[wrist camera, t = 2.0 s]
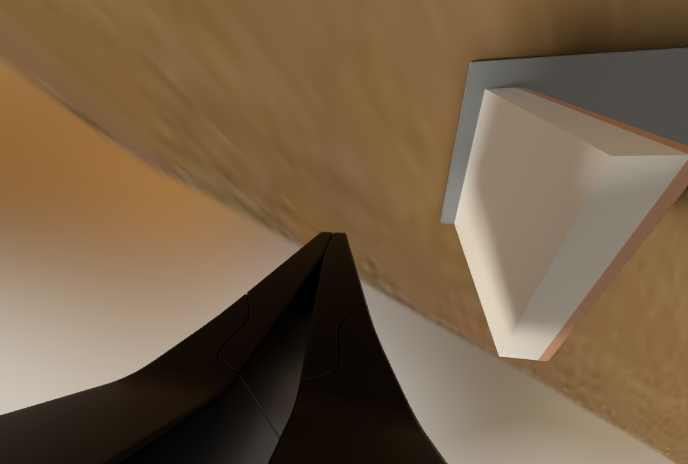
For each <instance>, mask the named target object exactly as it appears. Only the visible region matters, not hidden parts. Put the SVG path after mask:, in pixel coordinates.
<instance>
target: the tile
mask: <svg viewBox="0 0 688 464" xmlns="http://www.w3.org/2000/svg"><path fill="white" fill-rule="evenodd" d="M687 186H688V146H686V145H683V144H680V143H677V142H675V141H672V140H669V139H666V138H663V137H661V136H658V135H655V134H652V133H650V132H647V131H644V130H641V129H638V128H636V127H633V126H630V125H627V124H625V123H622V122H619V121H616V120H614V119H611V118H608V117H605V116H602V115H600V114H597V113H594V112H591V111H589V110H586V109H583V108H580V107H577V106H575V105H572V104H569V103H566V102H564V101H561V100H558V99H555V98H552V97H550V96H547V95H544V94H541V93H539V92H536V91H533V90H530V89H527V88H525V87H515V88H495V89H485V91H484V96H483V100H482V104H481V109H480V113H479V118H478V122H477V126H476V131H475V135H474V140H473V144H472V148H471V153H470V157H469V162H468V166H467V170H466V175H465V179H464V183H463V188H462V192H461V197H460V201H459V205H458V210H457V214H456V219H455V223H454V224H455V227H456V230H457V233H458V236H459V239H460V242H461V245H462V248H463V251H464V254H465V257H466V260H467V262H468V265H469V268H470V271H471V274H472V277H473V280H474V283H475V286H476V289H477V292H478V295H479V298H480V301H481V304H482V307H483V310H484V313H485V316H486V319H487V322H488V325H489V328H490V331H491V333H492V336H493V339H494V342H495V345H496V348H497V351H498V354H499V356H502V357H512V358H522V359H531V360H541V361H548V360H549V359H550V358H551V357H552V355H553V354H554V353H555V352H556V350H557V349H558V348H559V347H560V345H561V344H562V343H563V342H564V340H565V339H566V338H567V337H568V335H569V334H570V333H571V332H572V330H573V329H574V328H575V327H576V325H577V324H578V323H579V322H580V320H581V319H582V318H583V317H584V315H585V314H586V313H587V312H588V310H589V309H590V308H591V307H592V305H593V304H594V303H595V302H596V300H597V299H598V298H599V297H600V295H601V294H602V293H603V291H604V290H605V289H606V288H607V286H608V285H609V284H610V283H611V281H612V280H613V279H614V278H615V276H616V275H617V274H618V273H619V271H620V270H621V269H622V268H623V266H624V265H625V264H626V263H627V261H628V260H629V259H630V258H631V256H632V255H633V254H634V253H635V251H636V250H637V249H638V248H639V246H640V245H641V244H642V243H643V241H644V240H645V239H646V238H647V236H648V235H649V234H650V233H651V231H652V230H653V229H654V228H655V226H656V225H657V224H658V223H659V221H660V220H661V219H662V217H663V216H664V215H665V214H666V212H667V211H668V210H669V209H670V207H671V206H672V205H673V204H674V202H675V201H676V200H677V199H678V197H679V196H680V195H681V194H682V192H683V191H684V190H685V189H686V187H687Z"/></svg>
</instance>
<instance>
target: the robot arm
mask: <svg viewBox="0 0 688 464" xmlns="http://www.w3.org/2000/svg"><path fill="white" fill-rule="evenodd" d="M0 464H447V462H446V461H445V460H444V458H443V457H442V455H441V454H440V453H439V451H438V450H437V448H436V447H435V446H434V444H433V443H432V441H431V440H430V439H429V437H428V436H427V435H426V433H425V432H424V430H423V428H422V427H421V425H420V423H419V422H418V420H417V418H416V416H415V415H414V413H413V411H412V409H411V407H410V405H409V403H408V401H407V399H406V397H405V395H404V393H403V391H402V389H401V387H400V384H399V382H398V380H397V378H396V376H395V374H394V372H393V369H392V367H391V365H390V363H389V361H388V359H387V356H386V354H385V352H384V350H383V348H382V346H381V343H380V341H379V338H378V336H377V334H376V331H375V328H374V326H373V322H372V319H371V316H370V313H369V310H368V306H367V304H366V300H365V297H364V293H363V290H362V286H361V283H360V280H359V276H358V273H357V269H356V266H355V263H354V259H353V256H352V252H351V249H350V246H349V242H348V239H347V235H346V233H334V234H333V233H332V232H321V233H319V234H318V235H317V236H316V237H314V238H313V239H312V240H311V241H310V242H308V243H307V244H306V245H305V246H303V247H302V248H301V249H300V250H299V251H297V252H296V253H295V254H294V255H292V256H291V257H290V258H289V259H288V260H287V261H285V262H284V263H283V264H281V265H280V266H279V267H278V268H277V269H275V270H274V271H273V272H272V273H271V274H269V275H268V276H267V277H266V278H264V279H263V280H262V281H261V282H259V283H258V284H257V285H256V286H255V287H253V288H252V289H251V290H250V291H248V292H247V295H246V294H245V295H243V296H242V297H241V298H240V299H239V300H238V301H236V302H235V303H234V304H232V305H231V306H230V307H228V308H227V309H226V310H225V311H223V312H222V313H221V314H220V315H218V316H217V317H215V318H214V319H213V320H211V321H210V322H208V323H207V324H206V325H204V326H203V327H202V328H200V329H199V330H198V331H196V332H194V333H193V334H192V335H190V336H189V337H187V338H186V339H184V340H183V341H181V342H180V343H179V344H177V345H176V346H174V347H173V348H171V349H170V350H168V351H167V352H166V353H164V354H163V355H161V356H160V357H158V358H157V359H156V360H154V361H153V362H151V363H150V364H148V365H146V366H145V367H143V368H142V369H140V370H138V371H137V372H135V373H133V374H130V375H128V376H127V377H124V378H122V379H119V380H117V381H114V382H111V383H108V384H105V385H102V386H98V387H95V388H91V389H88V390H84V391H81V392H78V393H74V394H71V395H68V396H64V397H61V398H57V399H54V400H51V401H47V402H44V403H41V404H37V405H34V406H31V407H27V408H23V409H20V410H17V411H14V412H10V413H7V414H3V415H0Z"/></svg>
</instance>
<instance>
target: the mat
mask: <svg viewBox="0 0 688 464" xmlns="http://www.w3.org/2000/svg"><path fill="white" fill-rule="evenodd" d="M515 87H525V88H527V89H530V90H533V91H536V92H539V93H541V94H544V95H547V96H550V97H552V98H555V99H558V100H561V101H564V102H566V103H569V104H572V105H575V106H577V107H580V108H583V109H586V110H589V111H591V112H594V113H597V114H600V115H602V116H605V117H608V118H611V119H614V120H616V121H619V122H622V123H625V124H627V125H630V126H633V127H636V128H638V129H641V130H644V131H647V132H650V133H652V134H655V135H658V136H661V137H663V138H666V139H669V140H672V141H675V142H677V143H680V144H683V145H686V146H688V47H685V48H670V49H655V50H640V51H625V52H610V53H595V54H580V55H565V56H550V57H535V58H520V59H505V60H490V61H475V62H470V64H469V69H468V75H467V80H466V85H465V91H464V96H463V102H462V107H461V112H460V118H459V123H458V128H457V134H456V139H455V144H454V150H453V155H452V160H451V166H450V171H449V176H448V182H447V187H446V193H445V198H444V203H443V209H442V214H441V219H440V221H441V223H450V224H454V223H455V219H456V214H457V210H458V205H459V201H460V197H461V192H462V188H463V183H464V179H465V175H466V170H467V166H468V162H469V157H470V153H471V148H472V144H473V140H474V135H475V131H476V126H477V122H478V118H479V113H480V109H481V104H482V100H483V96H484V91H485V89H495V88H515Z"/></svg>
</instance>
